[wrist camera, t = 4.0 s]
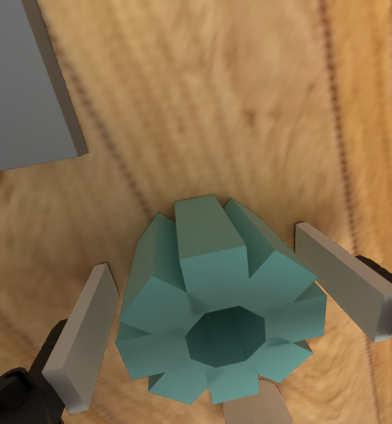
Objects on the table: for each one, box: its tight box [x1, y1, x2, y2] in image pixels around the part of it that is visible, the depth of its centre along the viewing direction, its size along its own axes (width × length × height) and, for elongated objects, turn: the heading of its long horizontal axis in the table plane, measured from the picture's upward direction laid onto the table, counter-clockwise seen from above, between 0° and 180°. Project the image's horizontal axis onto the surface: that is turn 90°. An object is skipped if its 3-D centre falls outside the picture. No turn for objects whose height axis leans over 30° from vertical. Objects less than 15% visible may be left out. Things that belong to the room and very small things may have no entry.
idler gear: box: [115, 194, 327, 405], centre depth 12 cm, size 9×9×6 cm
